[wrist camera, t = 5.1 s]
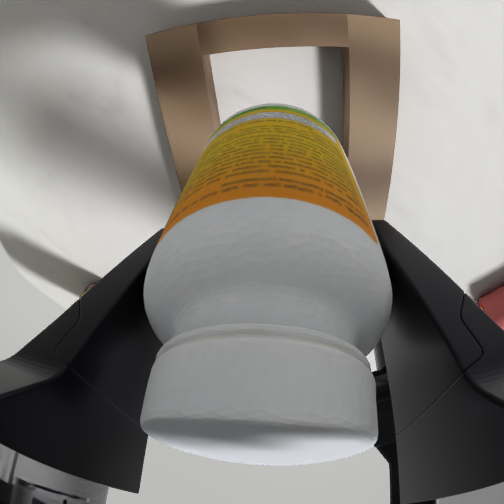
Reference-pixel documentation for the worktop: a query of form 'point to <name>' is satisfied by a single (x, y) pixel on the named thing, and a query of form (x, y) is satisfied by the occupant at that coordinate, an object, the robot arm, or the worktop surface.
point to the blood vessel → (494, 305)
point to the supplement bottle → (267, 299)
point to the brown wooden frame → (286, 35)
